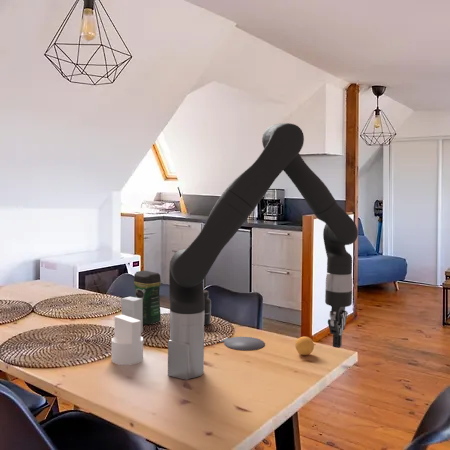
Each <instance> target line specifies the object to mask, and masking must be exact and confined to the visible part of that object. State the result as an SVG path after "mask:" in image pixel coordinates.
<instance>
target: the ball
mask: <svg viewBox="0 0 450 450" xmlns="http://www.w3.org/2000/svg"><path fill="white" fill-rule="evenodd" d="M314 348H315V343H314V341H313V339H312V338H310V337H309V336H301V337H298V338H297V340H296V341H295V350H296V351H297V353H299V355H301V356H309V355H311V353H313V351H314Z"/></svg>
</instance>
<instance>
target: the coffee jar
mask: <svg viewBox="0 0 450 450" xmlns="http://www.w3.org/2000/svg"><path fill="white" fill-rule="evenodd" d="M133 284H134V297H135V298H141V299H143V325H154V324H153V323H156V322H158V323H159V321H160V322H161V320H162V319H161V317H162V316H161V300H160V298H161V297H160V295H161V294H160V288H161V285H162V278H161V274H159V272H154V271H150V270H149V271H148V270H139V271H136V272H135V273H134V278H133ZM156 324H157V323H156Z"/></svg>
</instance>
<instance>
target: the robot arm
mask: <svg viewBox="0 0 450 450" xmlns="http://www.w3.org/2000/svg"><path fill="white" fill-rule="evenodd" d="M261 140H262V141H261V142H262V143H261V144H262V147H263V150H262V152H261V153H260V154H259V156H258V157H257V158H256V159H255V161H254V162H253V163H252V164H251V165H250V166H248V167H247V168H246V169H244V171H243V172H241V174H239V175H238V176H236V178H234V179H233V180H232V182H230V184H229V185H228V186H227V187H226V189H225V190H224V191H223V192H222V193H221V195H220V196H219V197H218V199H217V201H216V202H215V204H214V205H213V207H212V209H211V210H210V213H209V215H208V216H207V219H206V221H205V223H204V225H203V227H202V229H201V231H200V232H199V233H198V235H197V236H196V237H195V239H193V241H192V242H191V244H190V245H188V247H187V248H183V249H180V250H178V251H176V252H175V253H174V254H173V255H172V256H171V259H170V261H169V269H168V272H169V275H168V276H169V277H168V278H169V280H168V281H169V283H168V285H169V290H168V291H169V294H168V295H169V297H168V298H169V340H168V342H167V376H169V377H173V378H178V379H182V380H186V381H188V380H190V379H194V378H198V377H200V376H202V375H203V374H204V372H205V371H204V369H205V368H204V367H205V366H204V365H205V361H204V360H205V342H204V332H205V326H204V311H205V300H204V292H203V290H204V280H205V278H206V277H207V275H208V273H209V272H210V270H211V268H212V266H213V265H214V264H215V262H216V260H217V258H218V256H219V255H220V253H221V252H222V250H223V249H224V248H225V246H226V245H227V244H228V243H229V242H230V241H231V239H232V238H233V237H234V236H235V235H236V234H237V232H238V231H239V229H241V227H242V226H243V225H244V224H245V222H246V221H247V220H248V218H249V217H250V215H251V214H252V213H253V212H254V210H255V209H256V207H257V206H258V205H259V203H260V202H261V200H262V199H263V198H264V196H265V195H266V194H267V192H268V191H269V189H270V188H271V187H272V185H273V183H274V182H275V181H276V179H277V178H278V176H280V174H281V173H282V172H284V173H285V174H286V175H287V177H288V178H289V179H290V181H291V182H292V183H293V185H294V186H295V187H296V189H297V191H298V192H299V193H300V195H301V196H302V198H303V199H304V202H306V204H307V206H308V207H309V208H310V210H311V211H312V213H313V215H314V216H315V217H316V218H317V219H318V220H320V221H321V222H323V223H325V225H324V227H323V232H322V233H323V234H322V237H323V243H324V249H325V250H324V251H325V254H326V259H327V261H326V262H327V263H326V278H325V294H324V298H325V299H324V302H325V304H326V305H327V306H330V307H331V310H330V311H329V318H328V320H327V324H328V330H329V332H330V334H331V335H332V347H333V348H335V349H336V348H337V349H340V348H341V347H342V345H343V343H342V342H343V338H342V337H343V333H344V331H345V329H346V323H347V319H348V318H347V317H348V315H349V314H348V311H347V310H346V308H347V307H350V306H351V305H353V304H352V302H353V272H352V271H353V256H352V255H351V254H350V253H349V252H348V251H347V249H346V246H350V245H352V244H354V243H355V242H356V240H357V239H358V236H359V230H358V227H357V224H356V223H355V221H354V220H353V218H351V216H350V215H349V214H348V213H347V212H346V211H345V210H344V209H343V208H342V207H341V206H340V205H339V203H338V202H337V201H336V199H335V198H334V196H333V194H332V193H331V192H330V189H329V188H328V186H327V185H326V184H325V183H324V181H323V180H321V178H320V176H318V175H317V174H316V173H315V172H314V171H313V170H312V169H311V168H310V167H309V166H308V164H307V163H306V162H305V161H304V159H303V158H302V156H301V154H300V152H301V151H302V149H303V147H304V142H305V137H304V132H303V129H301V128H300V127H299V125H297V124H294V123H290V122H289V123H288V122H286V123H285V122H284V123H276V124H272V125H270V126H268V127H267V128H266V130H264V132H263V134H262V138H261Z"/></svg>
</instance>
